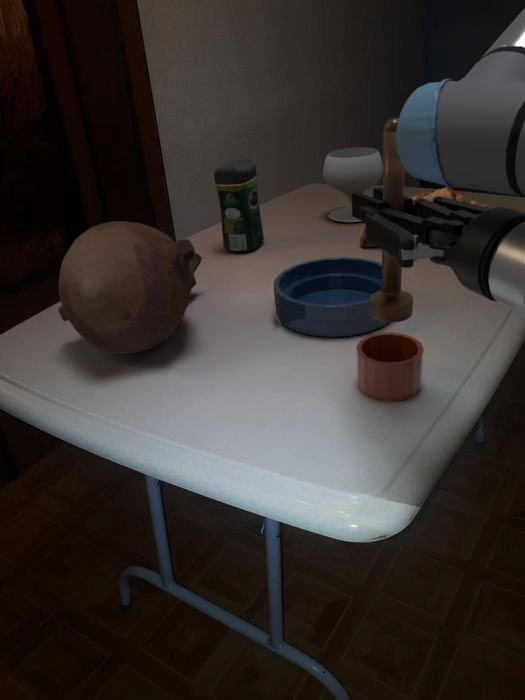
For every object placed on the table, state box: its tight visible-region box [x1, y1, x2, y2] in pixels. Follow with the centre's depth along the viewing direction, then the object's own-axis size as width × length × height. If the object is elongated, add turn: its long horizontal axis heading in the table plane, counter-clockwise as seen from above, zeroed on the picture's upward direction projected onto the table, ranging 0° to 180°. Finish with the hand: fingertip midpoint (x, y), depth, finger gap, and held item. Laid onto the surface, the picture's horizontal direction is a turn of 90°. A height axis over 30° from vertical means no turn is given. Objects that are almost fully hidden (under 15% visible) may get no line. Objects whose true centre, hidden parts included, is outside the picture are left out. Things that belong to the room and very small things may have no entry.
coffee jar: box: [213, 158, 265, 254], centre depth 120 cm, size 10×8×19 cm
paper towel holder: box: [370, 117, 414, 323], centre depth 61 cm, size 5×5×22 cm
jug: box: [58, 220, 203, 354], centre depth 89 cm, size 20×20×30 cm
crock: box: [355, 331, 425, 402], centre depth 70 cm, size 8×8×6 cm
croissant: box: [409, 186, 488, 208], centre depth 129 cm, size 21×10×8 cm, turn 58°
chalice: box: [322, 146, 383, 223], centre depth 133 cm, size 14×14×15 cm
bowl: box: [273, 256, 389, 338], centre depth 90 cm, size 20×20×6 cm
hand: (365, 201), depth 65 cm, fingers closed on paper towel holder, 2 cm apart
